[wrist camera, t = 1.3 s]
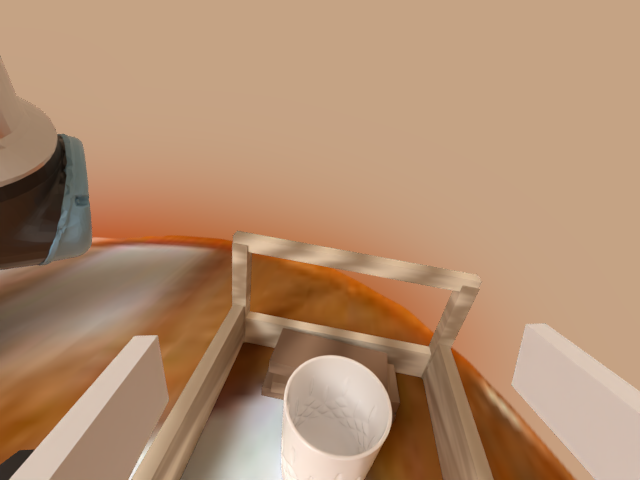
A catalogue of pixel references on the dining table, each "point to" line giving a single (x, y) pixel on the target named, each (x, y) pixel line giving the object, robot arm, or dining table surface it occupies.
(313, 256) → the frame
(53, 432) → the robot arm
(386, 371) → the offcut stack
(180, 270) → the dining table surface
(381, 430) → the white cup
